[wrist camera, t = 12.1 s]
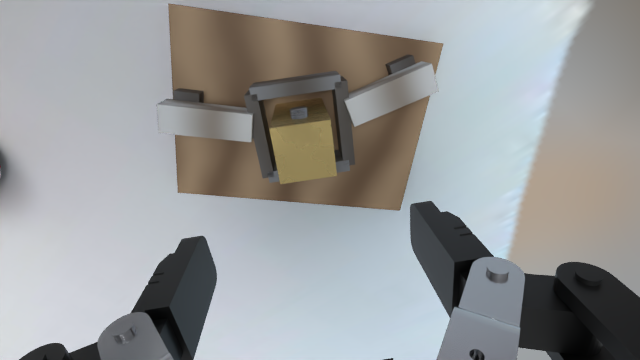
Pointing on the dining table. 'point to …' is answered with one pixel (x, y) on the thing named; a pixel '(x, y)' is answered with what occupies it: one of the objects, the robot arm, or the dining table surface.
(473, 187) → the dining table surface
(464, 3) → the dining table surface
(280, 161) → the tan block with knob
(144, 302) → the robot arm
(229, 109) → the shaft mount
